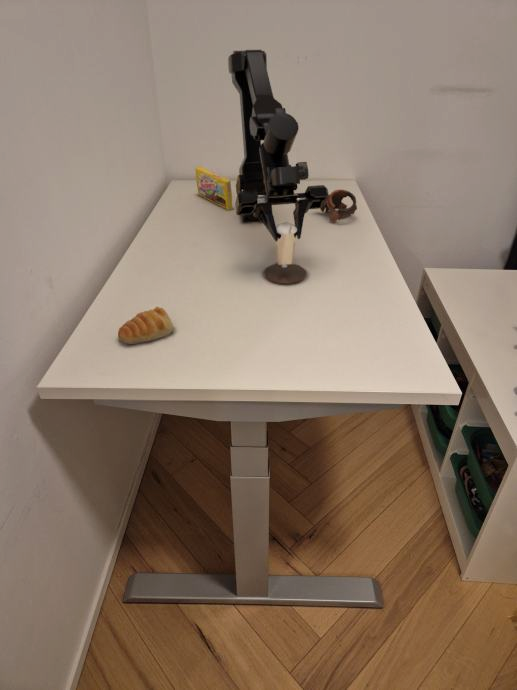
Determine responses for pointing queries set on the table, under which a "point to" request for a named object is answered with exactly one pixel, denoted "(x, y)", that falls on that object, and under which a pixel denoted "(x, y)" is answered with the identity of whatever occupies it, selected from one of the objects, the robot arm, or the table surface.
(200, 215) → the table surface
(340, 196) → the brown coiled strap
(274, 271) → the coaster
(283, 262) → the milkshake
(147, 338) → the pastry
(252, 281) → the table surface
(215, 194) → the candy box
